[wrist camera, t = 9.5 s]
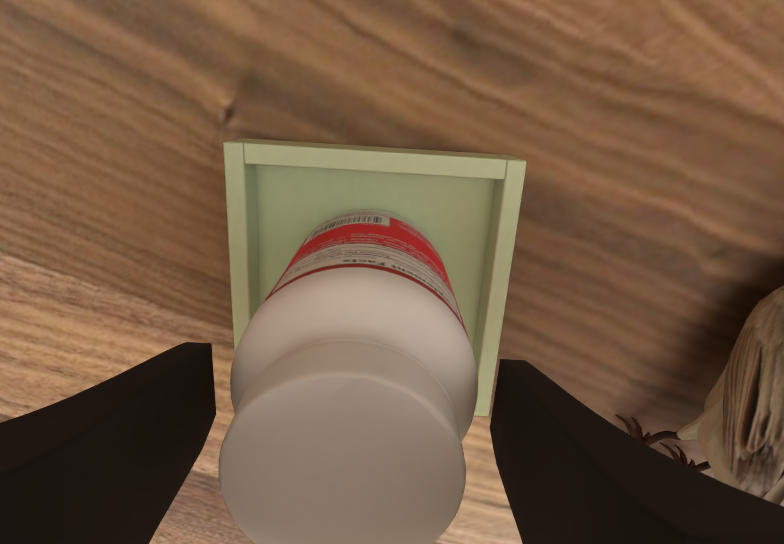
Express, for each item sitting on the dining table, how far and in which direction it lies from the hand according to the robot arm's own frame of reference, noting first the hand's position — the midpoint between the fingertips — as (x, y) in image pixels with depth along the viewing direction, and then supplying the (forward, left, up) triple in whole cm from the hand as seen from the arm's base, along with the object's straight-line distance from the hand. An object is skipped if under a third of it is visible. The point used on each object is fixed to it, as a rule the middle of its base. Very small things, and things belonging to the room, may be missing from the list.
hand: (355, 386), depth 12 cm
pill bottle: (0, 0, -8) cm, 8 cm away
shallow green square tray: (0, 0, -8) cm, 9 cm away
